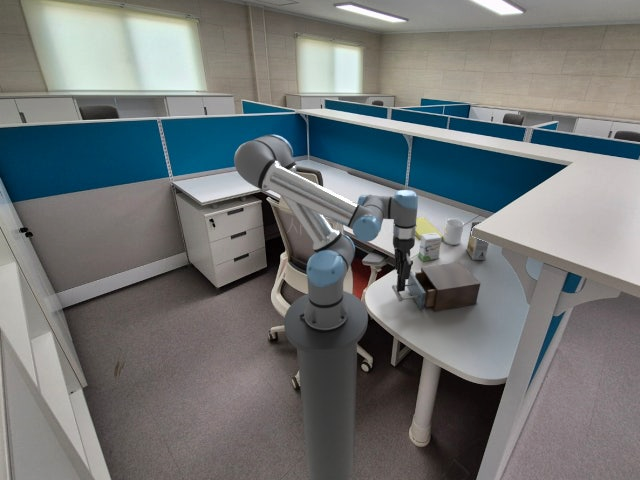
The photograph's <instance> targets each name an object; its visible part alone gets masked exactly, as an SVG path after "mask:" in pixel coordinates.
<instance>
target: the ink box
mask: <svg viewBox="0 0 640 480" xmlns="http://www.w3.org/2000/svg"><path fill="white" fill-rule="evenodd" d="M441 239H442V237H441V236H440V235H438V234H437V233H429V234H422V235H421V240H419V241H420V242H419V249H418V257H419V258H420V259H421V260H422V261H423V262H426V261H430V260H437V259H439V257H440V250H441V244H442V240H441Z"/></svg>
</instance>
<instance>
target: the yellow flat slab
mask: <svg viewBox="0 0 640 480" xmlns="http://www.w3.org/2000/svg"><path fill="white" fill-rule="evenodd" d="M416 225H417V227H416V230H415V237H417V239H418V240H419V241H421V235H422V234H429V233H437V234H438V235H440V236H441V237H442V239H441V241H444V235H443V234H442V233H440V231H439V230H438V229H437V228H436V227H435V226H434V225H433V224H432V223H431V222H430V221H429V220H428V219H427V218H426V217H417V219H416Z"/></svg>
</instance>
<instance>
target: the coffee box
mask: <svg viewBox="0 0 640 480" xmlns="http://www.w3.org/2000/svg"><path fill="white" fill-rule="evenodd" d="M481 222H482V221H472V222H471V227H470V232H469V237H468V241H467V246H466V251H467V253H468V254H469V256H470V258H471V260H472V261H482V260H483V261H484V260H486V256H487V252H488V248H489V243H490V242H489V243H487V242H485V241H482V240H479V239H477V238H474V237H472V235H471V231H472V228H473V227H474V226H475V225H477V224H479V223H481Z"/></svg>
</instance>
